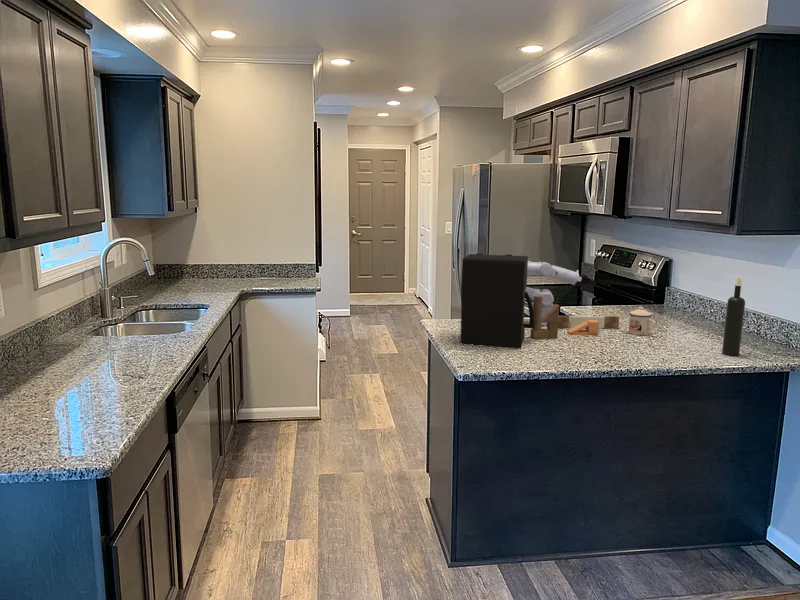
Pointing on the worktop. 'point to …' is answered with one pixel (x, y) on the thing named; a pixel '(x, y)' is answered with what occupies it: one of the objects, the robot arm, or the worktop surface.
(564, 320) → the brown rectangular block
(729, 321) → the wine bottle
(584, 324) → the wedge
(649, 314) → the teacup with lid
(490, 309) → the black upright box
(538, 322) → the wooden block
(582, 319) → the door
